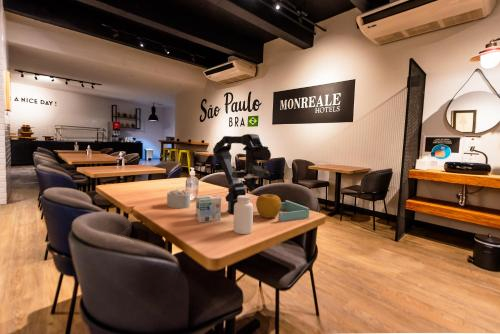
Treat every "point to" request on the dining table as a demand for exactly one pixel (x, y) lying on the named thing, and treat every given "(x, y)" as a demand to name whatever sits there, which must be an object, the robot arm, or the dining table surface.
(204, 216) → the light bulb box
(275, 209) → the apple
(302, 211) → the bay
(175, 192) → the lumpy-topped squat cylinder
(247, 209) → the pill bottle
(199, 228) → the dining table surface
